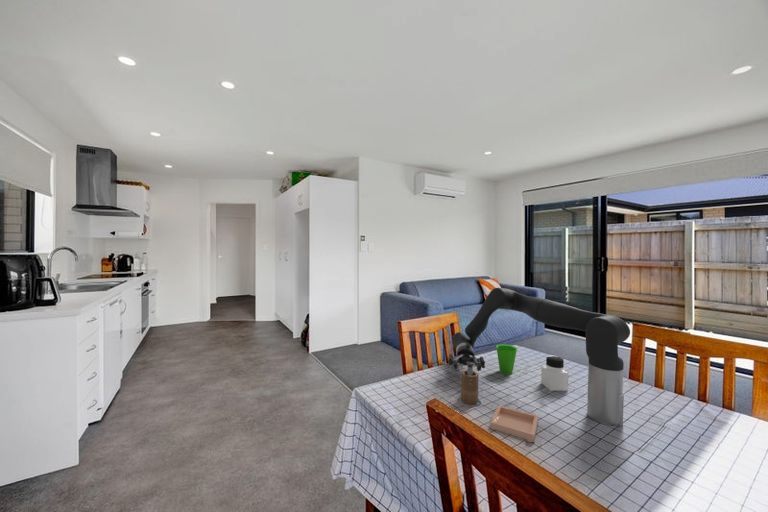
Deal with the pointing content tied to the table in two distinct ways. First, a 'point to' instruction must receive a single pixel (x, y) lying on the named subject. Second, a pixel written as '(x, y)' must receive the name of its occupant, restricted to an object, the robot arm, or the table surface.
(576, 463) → the table surface
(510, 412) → the tray
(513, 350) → the cup
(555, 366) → the medicine bottle
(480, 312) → the robot arm
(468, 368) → the paper towel holder
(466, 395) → the octagonal pencil holder
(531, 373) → the table surface
